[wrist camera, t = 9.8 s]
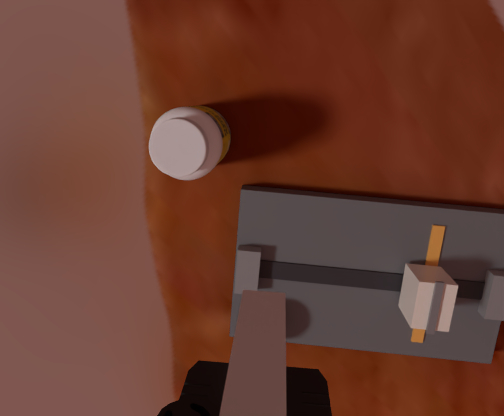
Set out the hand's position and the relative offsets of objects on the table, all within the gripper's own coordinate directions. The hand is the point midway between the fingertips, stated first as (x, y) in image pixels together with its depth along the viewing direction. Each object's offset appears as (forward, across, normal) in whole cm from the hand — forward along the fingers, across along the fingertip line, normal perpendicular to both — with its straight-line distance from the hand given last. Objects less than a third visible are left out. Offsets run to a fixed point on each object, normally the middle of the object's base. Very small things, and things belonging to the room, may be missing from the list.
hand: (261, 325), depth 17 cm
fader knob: (+23, +13, -8) cm, 28 cm away
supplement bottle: (+26, -7, +3) cm, 27 cm away
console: (+25, +9, -8) cm, 28 cm away
